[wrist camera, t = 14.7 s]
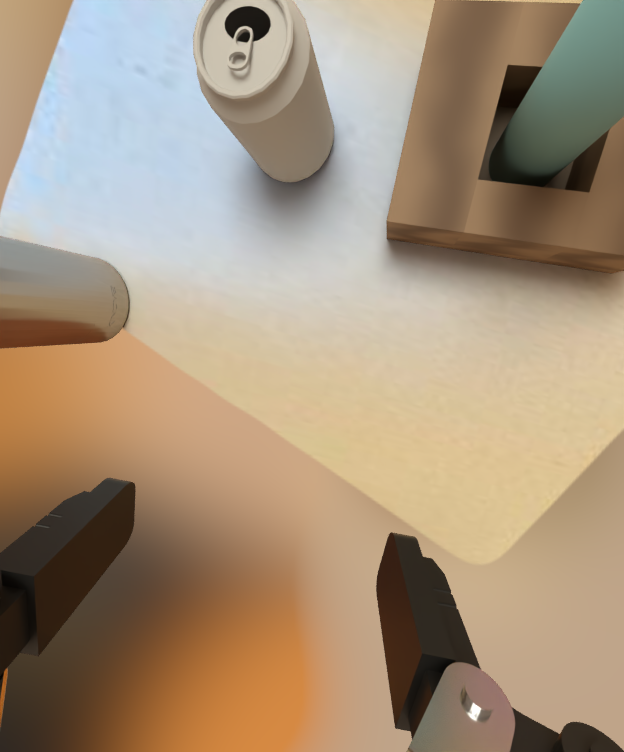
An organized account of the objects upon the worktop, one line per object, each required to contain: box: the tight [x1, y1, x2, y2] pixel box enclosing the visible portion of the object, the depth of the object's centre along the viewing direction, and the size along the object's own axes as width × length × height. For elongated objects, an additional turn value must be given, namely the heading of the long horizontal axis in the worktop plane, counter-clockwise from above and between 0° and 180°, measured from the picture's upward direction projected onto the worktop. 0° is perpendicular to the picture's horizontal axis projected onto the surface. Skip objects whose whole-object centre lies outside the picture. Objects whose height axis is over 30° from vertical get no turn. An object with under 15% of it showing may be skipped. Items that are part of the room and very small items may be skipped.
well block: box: [387, 0, 624, 273], centre depth 25 cm, size 18×14×6 cm
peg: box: [489, 0, 624, 187], centre depth 19 cm, size 5×5×16 cm
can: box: [193, 0, 334, 182], centre depth 25 cm, size 8×8×12 cm
